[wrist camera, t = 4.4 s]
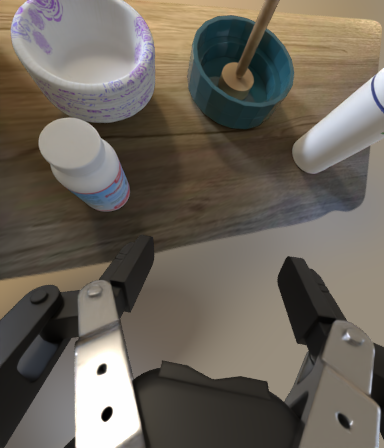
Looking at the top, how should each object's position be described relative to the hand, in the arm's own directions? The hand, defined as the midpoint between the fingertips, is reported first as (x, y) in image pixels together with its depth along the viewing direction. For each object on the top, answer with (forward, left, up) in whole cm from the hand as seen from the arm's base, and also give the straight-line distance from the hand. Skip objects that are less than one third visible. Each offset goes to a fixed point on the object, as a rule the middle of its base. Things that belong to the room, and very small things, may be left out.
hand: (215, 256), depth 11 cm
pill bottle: (-14, -2, -15) cm, 21 cm away
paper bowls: (-27, +7, -15) cm, 32 cm away
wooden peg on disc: (-17, +26, -14) cm, 34 cm away
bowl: (-17, +26, -15) cm, 34 cm away
